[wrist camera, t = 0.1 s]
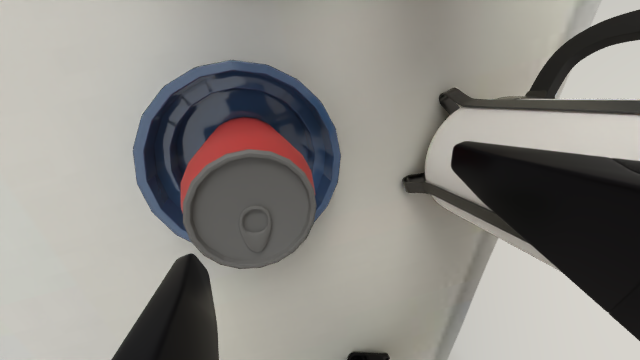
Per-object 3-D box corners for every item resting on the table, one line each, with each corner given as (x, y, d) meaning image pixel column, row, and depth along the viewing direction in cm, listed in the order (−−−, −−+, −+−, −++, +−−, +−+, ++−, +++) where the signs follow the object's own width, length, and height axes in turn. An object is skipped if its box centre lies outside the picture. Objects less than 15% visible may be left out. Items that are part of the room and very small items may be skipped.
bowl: (291, 239, 26) (301, 266, 22) (136, 205, 20) (110, 232, 16) (345, 110, 23) (367, 113, 19) (183, 34, 18) (167, 15, 14)
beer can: (211, 195, 22) (182, 293, 11) (200, 117, 20) (149, 141, 9) (287, 187, 24) (327, 265, 13) (283, 115, 21) (328, 133, 11)
